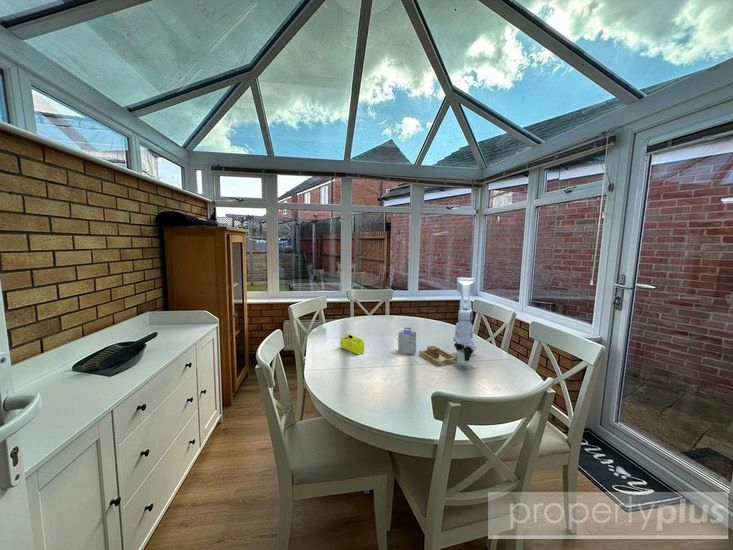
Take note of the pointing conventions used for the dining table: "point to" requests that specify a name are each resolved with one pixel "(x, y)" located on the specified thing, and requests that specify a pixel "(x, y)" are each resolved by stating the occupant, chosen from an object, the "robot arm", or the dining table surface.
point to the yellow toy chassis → (353, 344)
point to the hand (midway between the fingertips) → (463, 358)
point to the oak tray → (439, 358)
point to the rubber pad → (463, 366)
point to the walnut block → (433, 351)
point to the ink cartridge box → (407, 341)
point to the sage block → (461, 357)
